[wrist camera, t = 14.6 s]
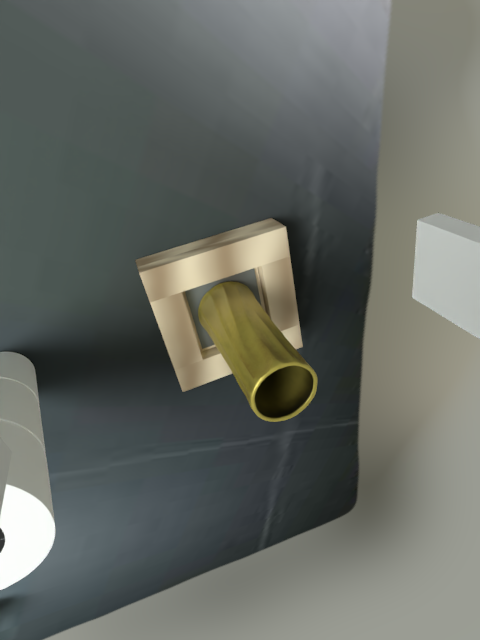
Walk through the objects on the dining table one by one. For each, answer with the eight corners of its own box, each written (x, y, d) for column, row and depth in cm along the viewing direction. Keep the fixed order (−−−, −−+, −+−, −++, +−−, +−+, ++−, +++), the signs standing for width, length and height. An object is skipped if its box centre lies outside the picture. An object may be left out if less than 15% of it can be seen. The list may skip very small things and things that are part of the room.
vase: (265, 294, 41) (338, 371, 29) (236, 342, 42) (293, 434, 30) (216, 270, 38) (275, 345, 26) (186, 323, 39) (229, 416, 27)
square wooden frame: (176, 373, 44) (182, 392, 41) (135, 259, 37) (139, 272, 34) (289, 331, 47) (302, 346, 44) (271, 217, 40) (285, 226, 37)
